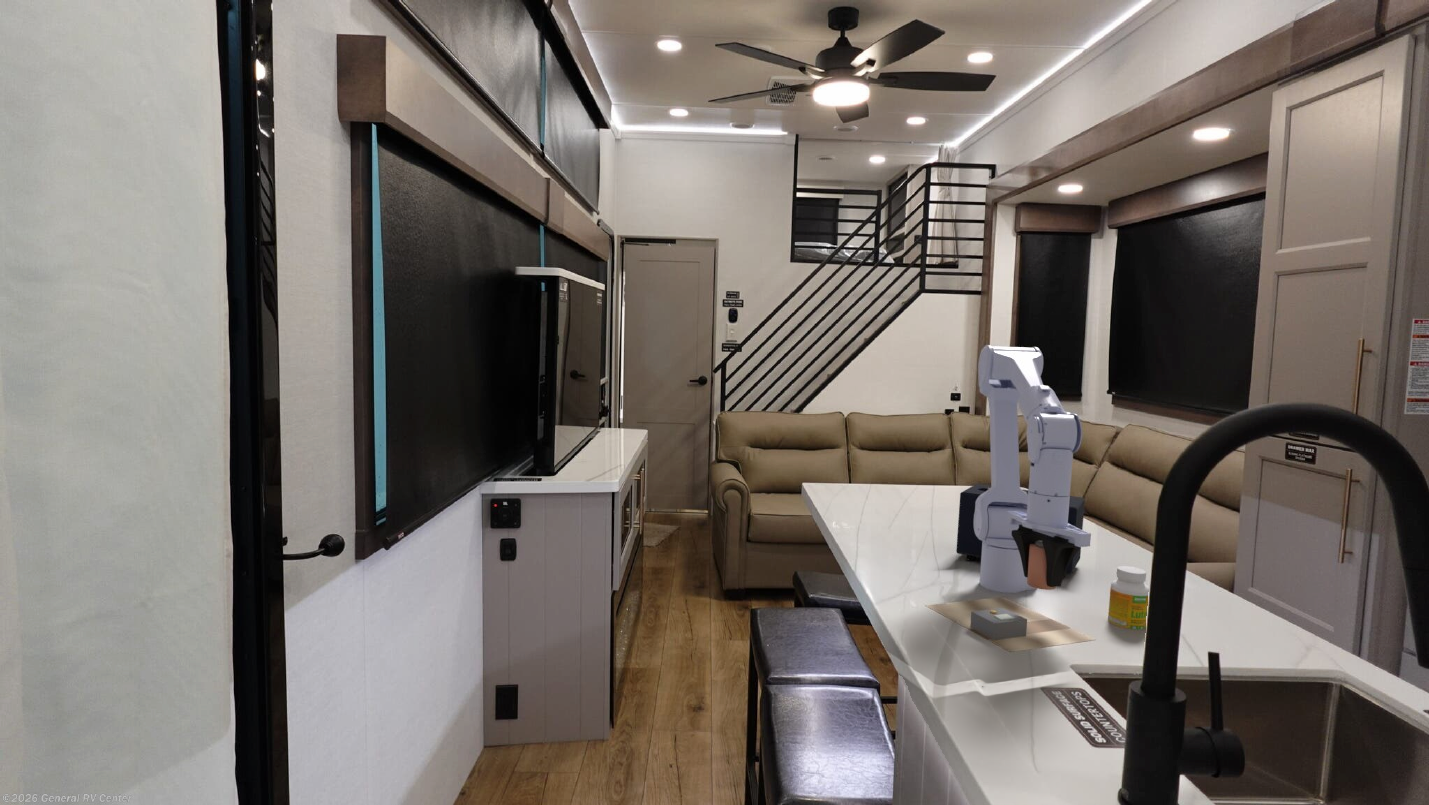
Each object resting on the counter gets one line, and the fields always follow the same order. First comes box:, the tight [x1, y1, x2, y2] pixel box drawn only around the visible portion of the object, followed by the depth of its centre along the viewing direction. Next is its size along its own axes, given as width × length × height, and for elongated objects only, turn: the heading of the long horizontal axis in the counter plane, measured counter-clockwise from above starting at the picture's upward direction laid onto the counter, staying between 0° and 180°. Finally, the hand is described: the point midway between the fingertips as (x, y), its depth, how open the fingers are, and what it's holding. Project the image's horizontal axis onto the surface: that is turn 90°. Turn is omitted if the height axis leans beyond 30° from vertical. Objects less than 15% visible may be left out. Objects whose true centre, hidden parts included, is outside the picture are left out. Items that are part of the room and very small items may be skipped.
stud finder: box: [970, 608, 1027, 640], centre depth 112 cm, size 6×5×3 cm
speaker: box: [955, 483, 1086, 575], centre depth 153 cm, size 22×13×15 cm, turn 58°
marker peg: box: [1027, 541, 1057, 591], centre depth 114 cm, size 4×4×7 cm
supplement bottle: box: [1107, 565, 1150, 630], centre depth 118 cm, size 5×5×10 cm
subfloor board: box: [925, 596, 1097, 653], centre depth 116 cm, size 16×19×1 cm
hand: (1042, 581), depth 114 cm, fingers closed on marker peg, 4 cm apart
